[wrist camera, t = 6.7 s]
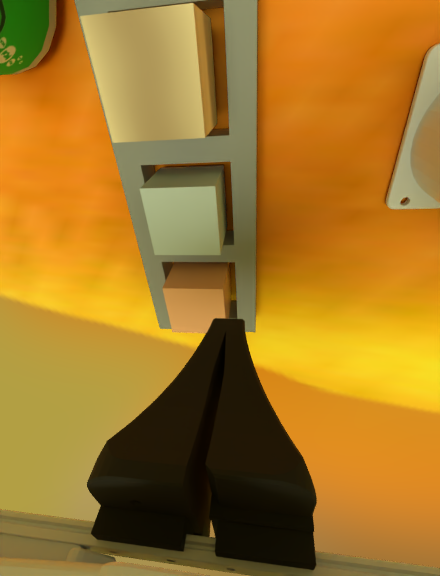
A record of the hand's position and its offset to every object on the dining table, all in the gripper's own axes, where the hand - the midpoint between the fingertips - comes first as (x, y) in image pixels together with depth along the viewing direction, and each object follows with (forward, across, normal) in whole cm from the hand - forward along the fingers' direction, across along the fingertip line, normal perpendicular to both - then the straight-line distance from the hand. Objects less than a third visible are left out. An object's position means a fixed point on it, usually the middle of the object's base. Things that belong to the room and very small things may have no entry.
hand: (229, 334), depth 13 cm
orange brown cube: (+9, +3, +4) cm, 10 cm away
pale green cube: (+9, +3, -3) cm, 10 cm away
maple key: (+8, +3, -10) cm, 13 cm away
